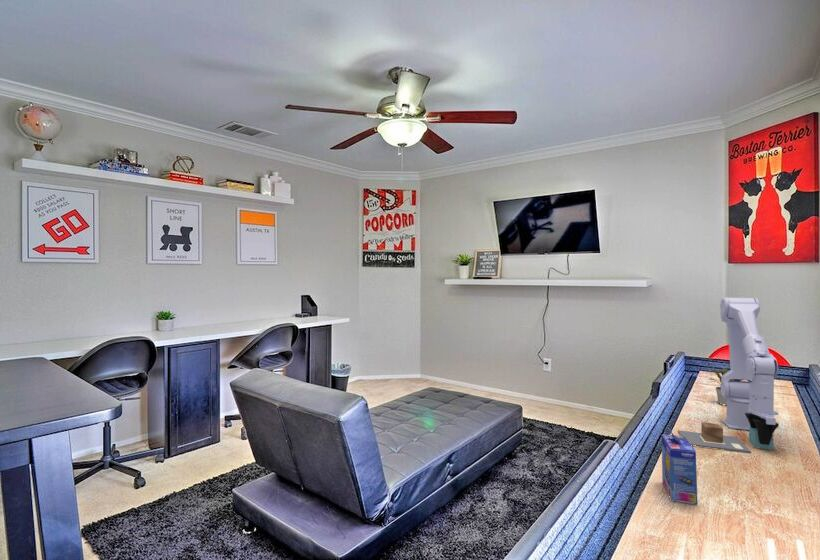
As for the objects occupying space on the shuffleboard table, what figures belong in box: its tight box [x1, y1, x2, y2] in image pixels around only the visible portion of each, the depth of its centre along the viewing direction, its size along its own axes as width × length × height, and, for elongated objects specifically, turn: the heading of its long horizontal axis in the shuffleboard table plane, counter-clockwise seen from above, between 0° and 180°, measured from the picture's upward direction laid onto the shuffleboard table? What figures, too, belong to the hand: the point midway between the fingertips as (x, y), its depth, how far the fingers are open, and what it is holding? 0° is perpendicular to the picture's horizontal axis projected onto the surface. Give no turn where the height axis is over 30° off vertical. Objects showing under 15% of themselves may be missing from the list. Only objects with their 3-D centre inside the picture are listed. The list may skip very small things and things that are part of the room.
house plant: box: [703, 364, 743, 405], centre depth 172 cm, size 14×14×16 cm
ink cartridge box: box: [660, 428, 699, 505], centre depth 102 cm, size 10×6×14 cm, turn 161°
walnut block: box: [700, 421, 724, 443], centre depth 133 cm, size 4×4×4 cm
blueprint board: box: [677, 429, 752, 454], centre depth 133 cm, size 16×12×1 cm
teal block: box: [748, 428, 774, 451], centre depth 130 cm, size 4×4×4 cm
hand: (761, 441), depth 130 cm, fingers closed on teal block, 4 cm apart
